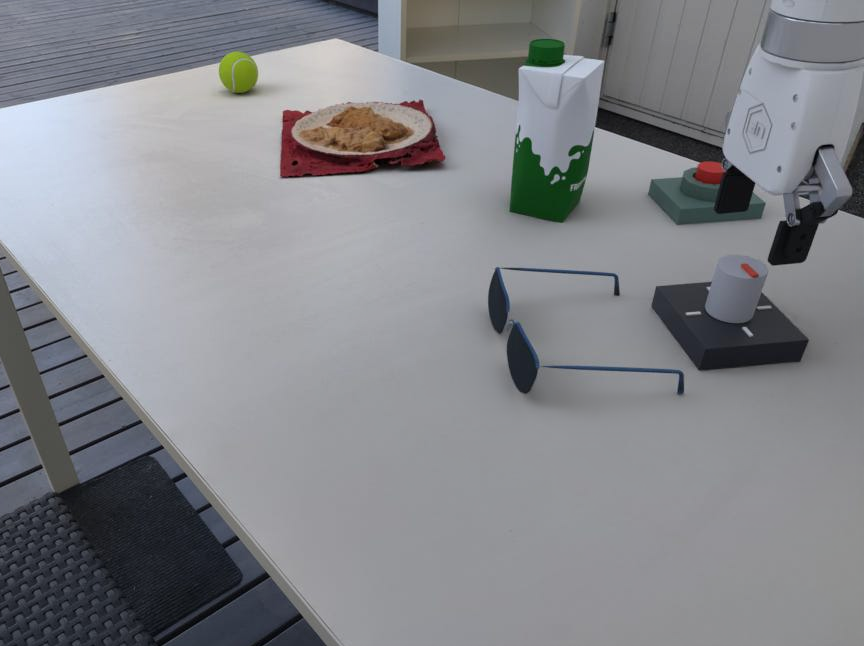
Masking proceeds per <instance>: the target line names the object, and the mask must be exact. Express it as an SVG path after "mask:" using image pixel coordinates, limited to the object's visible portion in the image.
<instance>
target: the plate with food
mask: <svg viewBox="0 0 864 646" xmlns="http://www.w3.org/2000/svg"><path fill="white" fill-rule="evenodd" d="M436 134H437V129H436V124H435V122H434V119H433V117H432V116H431V115H429V113H428V112H427V110H426V108H425V104H424V100H423V99H421V98H420V99H418V101H415V100H414V99H413V100H411V101H410V102H408V101H407V100H404V101H403V102H400V103H392V102H383V101H380V102H379V101H370V102H369V101H367V102H351V101H348V102H346V103H344V102H343V103H340V104H335V105H330V106H327V107H325V108H319V109H318V110H317V111H310V110H305V111H304V112H302V111H300V110H297V109H295V110H290V109H285V110H282V129H281V143H280V149H281V150H280V163H279V164H280V165H279V167H280V168H279V169H280V172H279V176H280V177H285V178H289V177H295V176H298V177H303V176H304V175H306V174H311V175H312V176H325V175H329V174H330V175H331V174H332V175H335V174H342V173H355V172H356V173H360V172H368V171H370V170H372V169H377V168H379V164H378V163H376V162H375V160H378V159H379V160H381V159H389V161H388V164H390V165H394V164H397V163H398V164H399V163H400V166H402V167H405V166H406V167H414V166H417V165H423V164H424V165H427V164H428V163H431V162H432V161H433V162H438V163H441V162H443V161H445V160H446V158H447V157H446V155H445V154H444V152H443V151H442V148H441V145H440V142H439V140H438V138H439V136H438V135H436ZM405 155H407V156H405ZM404 156H405V157H404ZM399 157H400V158H399ZM295 161H296V162H297V164H295V165H293V163H295Z"/></svg>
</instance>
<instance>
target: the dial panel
mask: <svg viewBox="0 0 864 646" xmlns="http://www.w3.org/2000/svg"><path fill="white" fill-rule="evenodd" d="M711 283H712V281H702V282H691V283H679V284H667V285H656V286H655V289H654V293H653V298H652V302H651V306H650V307H651V308H652V309H653V310H654V312H655V313H656V314H657V316H658V318H659V319H660V320H661V321H662V323H663V324H664V326H665V327H666V328H667V329H668V331H669V332H670V333H671V335H672V336H673V338H674V339H675V340H676V342H677V343H678V344H679V345H680V347H681V348H682V349H683V351H684V352H685V353H686V355H687V356H688V358H689V359H690V361H691V362H692V363H693V364H694V366H695V367H696V368H697V369H698V371H707V370H718V369H729V368H742V367H749V366H750V367H752V366H762V365H774V364H784V363H795V362H801V361H802V359H803V356H804V354H805V351H806V350H807V346H808V344H809V341H810V339H809V338H808V337H807V336H806V335H805V334H804V332H802V331H801V330H800V328H798V327H797V325H795V323H793V321H791V320H790V319H789V318H788V317H787V316H786V315H785V313H784V312H782V311H781V309H779V307H777V306H776V305H775V303H774V302H773V301H771V299H770V298H768V296H766V295H765V293H763V291H762V292H761V295H760V298H759V301H758V304H757V307H756V309H755V312H754V315H753V318H752V319H751V320H750V321H748V322H745V323H728V322H724V321H720V320H718V319H716V318H714V317H712V316H711V315H709V314H708V313H707V311H706V309H705V304H706V300H707V297H708V294H709V290H710V287H711Z"/></svg>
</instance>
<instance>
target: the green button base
mask: <svg viewBox="0 0 864 646" xmlns="http://www.w3.org/2000/svg"><path fill="white" fill-rule="evenodd" d="M696 170H697V166H696V167H690V168H688V169H685V170H684V171H683V173H682V176H680V177H665V178H663V177H662V178H652V179H650V183H649V188H648V193H647V195H648V196H649V197H650V198H651V199H652V200H653V201H654V202H655V203H656V204H657V206H658V207H659V208H660V209H661V210H662V211H663V212H664V213H665V214H666V215H667V217H669V218H670V219H671V221H672V222H674V223H675V224H676V226H680V225H692V224H693V225H694V224H707V223H709V224H710V223H719V222H721V223H722V222H735V221H746V220H749V221H750V220H761V219H762V217H763V214H764V211H765V207H766V205H767V202H766V201H765V200H763V198H761V197H760V196H759V195H757V194H756V193H755V192H753V194H752V197H751V201H750V204H749V208H748V210H747V211H745V212H735V213H725V214H717V213H716V212H715V211H714V206H715V202H716V198H717V194H718V190H719V186H720V184H707V183H703V182H700V181H697V180H696V179H695V174H696Z"/></svg>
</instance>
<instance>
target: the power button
mask: <svg viewBox="0 0 864 646" xmlns="http://www.w3.org/2000/svg"><path fill="white" fill-rule="evenodd" d="M696 167H697V170H696V174H695V179H696V180H697V181H700V182H703V183H707V184H720V182H721V178H722V174H723V173H726V172H727V171H723V170H722V162H717V161H701V162H699V163H698V164H697V165H696Z"/></svg>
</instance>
